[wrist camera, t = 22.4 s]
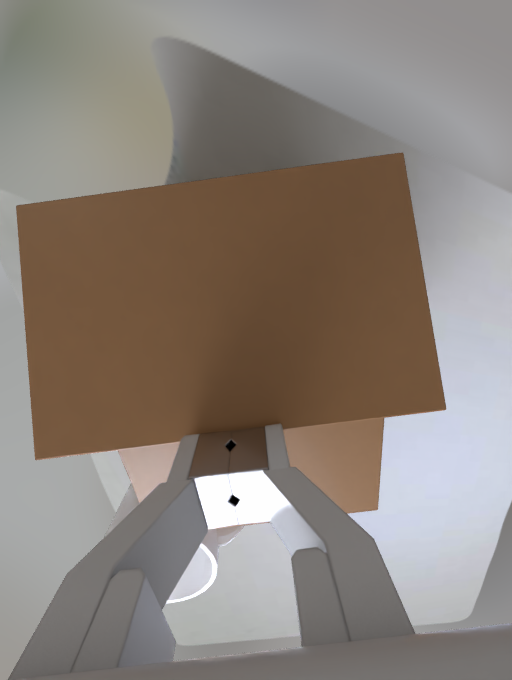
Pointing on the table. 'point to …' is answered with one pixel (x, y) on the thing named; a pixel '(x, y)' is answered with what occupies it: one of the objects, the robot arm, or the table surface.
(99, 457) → the table surface
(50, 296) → the flap
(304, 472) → the carton
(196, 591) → the mug
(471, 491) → the table surface
